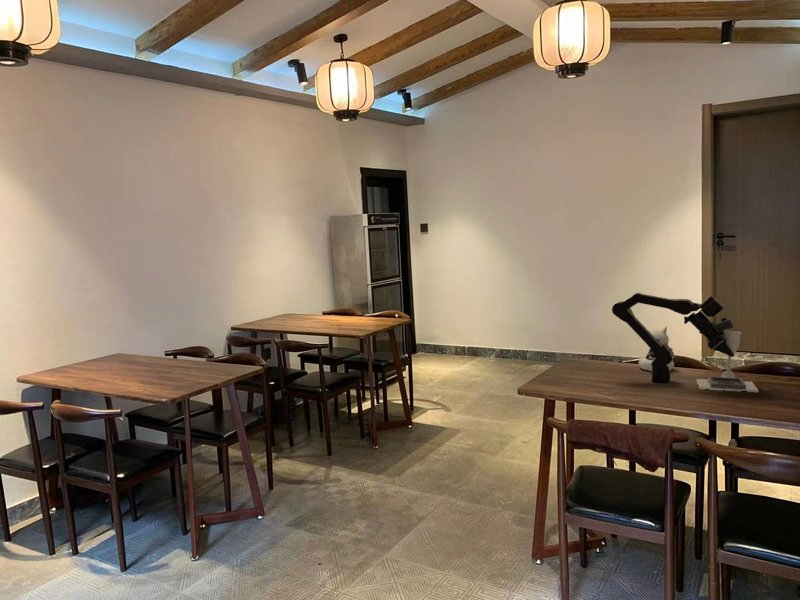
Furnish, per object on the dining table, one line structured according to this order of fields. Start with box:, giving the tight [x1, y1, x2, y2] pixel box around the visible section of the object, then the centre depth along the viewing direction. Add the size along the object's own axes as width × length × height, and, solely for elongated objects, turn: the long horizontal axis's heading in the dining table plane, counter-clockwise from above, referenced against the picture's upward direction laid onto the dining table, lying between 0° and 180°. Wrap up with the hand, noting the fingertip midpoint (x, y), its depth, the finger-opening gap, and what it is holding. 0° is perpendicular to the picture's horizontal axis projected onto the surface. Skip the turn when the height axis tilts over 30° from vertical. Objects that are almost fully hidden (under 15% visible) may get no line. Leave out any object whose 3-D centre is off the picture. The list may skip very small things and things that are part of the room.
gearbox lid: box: [696, 375, 759, 393], centre depth 237 cm, size 20×14×2 cm
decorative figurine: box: [638, 326, 675, 372], centre depth 269 cm, size 15×15×20 cm
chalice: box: [720, 330, 742, 378], centre depth 234 cm, size 7×7×18 cm
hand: (733, 354), depth 233 cm, fingers closed on chalice, 6 cm apart
